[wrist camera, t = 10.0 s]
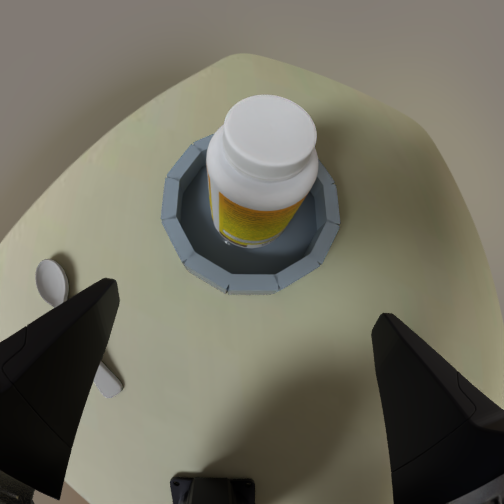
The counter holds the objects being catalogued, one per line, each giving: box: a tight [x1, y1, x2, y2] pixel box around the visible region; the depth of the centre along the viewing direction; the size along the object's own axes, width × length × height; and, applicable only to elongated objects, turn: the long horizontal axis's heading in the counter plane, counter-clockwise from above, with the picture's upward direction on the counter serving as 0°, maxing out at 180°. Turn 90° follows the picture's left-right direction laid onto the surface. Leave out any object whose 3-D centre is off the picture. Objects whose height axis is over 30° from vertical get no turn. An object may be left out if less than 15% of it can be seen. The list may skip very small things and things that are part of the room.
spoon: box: [36, 259, 123, 398], centre depth 18 cm, size 3×12×2 cm, turn 35°
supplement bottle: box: [206, 95, 318, 248], centre depth 16 cm, size 6×6×10 cm
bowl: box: [161, 133, 340, 295], centre depth 20 cm, size 12×12×3 cm
